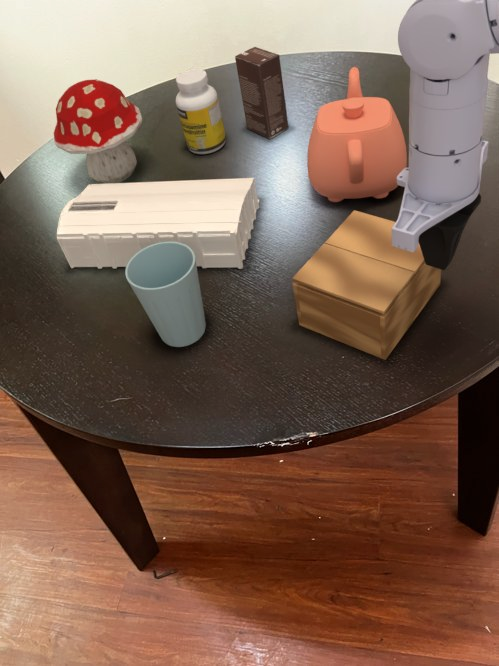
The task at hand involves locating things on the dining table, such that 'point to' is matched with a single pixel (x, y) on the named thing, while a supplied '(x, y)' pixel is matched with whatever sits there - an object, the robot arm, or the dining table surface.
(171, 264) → the cup
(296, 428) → the dining table surface
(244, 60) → the box
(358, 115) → the teapot
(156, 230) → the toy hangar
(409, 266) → the flap
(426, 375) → the dining table surface
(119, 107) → the decorative mushroom
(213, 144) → the pill bottle
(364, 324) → the wooden box
